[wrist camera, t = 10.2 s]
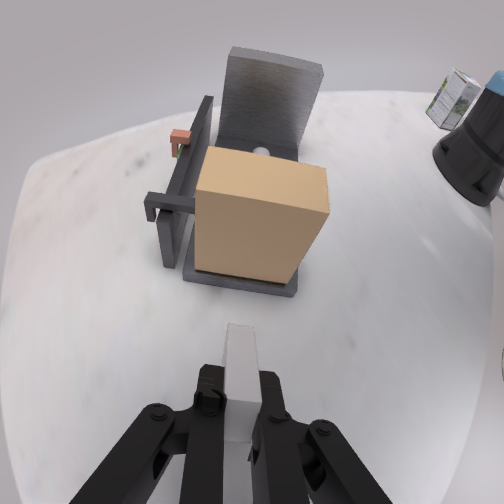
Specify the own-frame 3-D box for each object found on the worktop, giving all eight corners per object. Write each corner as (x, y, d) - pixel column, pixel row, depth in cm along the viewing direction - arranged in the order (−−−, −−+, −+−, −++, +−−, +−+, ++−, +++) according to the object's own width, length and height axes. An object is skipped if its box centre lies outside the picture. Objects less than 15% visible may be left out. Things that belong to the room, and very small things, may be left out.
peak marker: (188, 161, 27) (188, 137, 25) (170, 158, 27) (170, 135, 25) (190, 154, 28) (191, 131, 25) (173, 151, 27) (173, 129, 25)
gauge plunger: (287, 283, 26) (329, 213, 18) (147, 261, 25) (127, 180, 17) (289, 196, 32) (319, 120, 23) (174, 177, 30) (172, 95, 22)
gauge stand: (292, 297, 28) (350, 214, 17) (158, 275, 27) (138, 178, 16) (294, 143, 39) (321, 64, 29) (203, 127, 38) (212, 43, 27)
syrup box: (439, 116, 58) (465, 71, 45) (453, 132, 55) (482, 87, 42) (425, 112, 56) (451, 64, 44) (439, 129, 53) (469, 80, 41)
